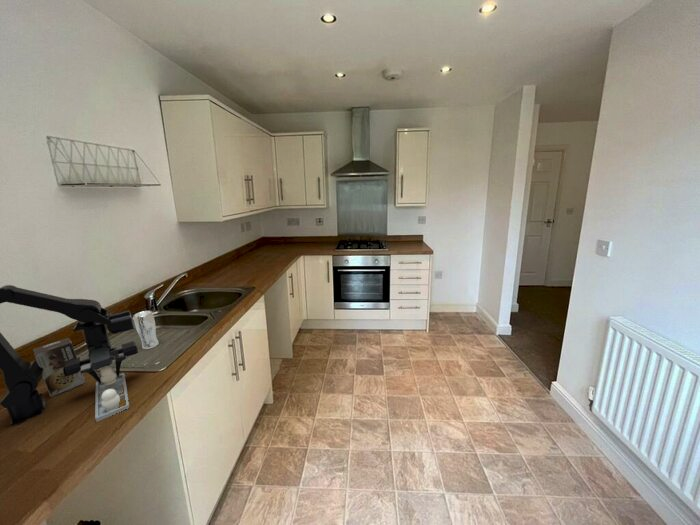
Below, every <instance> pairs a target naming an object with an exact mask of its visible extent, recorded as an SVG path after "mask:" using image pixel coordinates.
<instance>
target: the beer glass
mask: <svg viewBox="0 0 700 525" xmlns="http://www.w3.org/2000/svg"><path fill="white" fill-rule="evenodd" d="M132 317H133V320H134V325H135V330H136V331H137V335H138V336H139V338H140V340H141V348H142V349H143V350H149V349H150V350H151V349H153V348H155V347H157V346H158V345H159V344H160V343H159V342H160V341H159V340H158V338H157V334H156V329H157V328H156V321H155V316H154V314H153V310H142V311H139V312H137V313H135V314H133V316H132Z"/></svg>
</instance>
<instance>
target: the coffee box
mask: <svg viewBox="0 0 700 525" xmlns="http://www.w3.org/2000/svg"><path fill="white" fill-rule="evenodd" d="M73 345H74V344H73V342H72V341H71V339H70V338H69V337H66V338H63V339H59V340H57V341H54V342H51V343H47V344H44V345H40V346H38V347H35V348H33V349H32V351H33V355H34V358H35V359H36V361H37V363H38V365H39V366H40V367H41V368H43V369H44V370H43V371H42V373H43V377H42V379H43V381H44V384H45V386H46V389H47V391H48V394H49V397H50V398H52V397H55V396H56V395H59V394H62V393H64V392H67V391H69V390H71V389H73V388H76V387H78V386H81V385H83V384H85V383H86V380H85V377H84V373H81V370H80V371H79V373H76V374H73V375H70V376H65V375H64V372H63V367H64V364H65V362H66V361H69V360H73V359H76V358H78V357H77V355H76V351H75V348H74V346H73Z"/></svg>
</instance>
